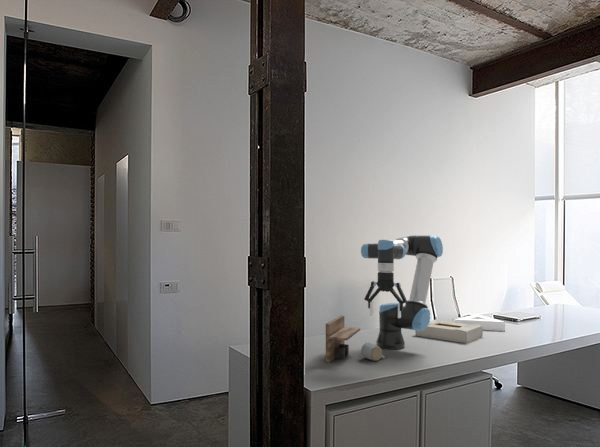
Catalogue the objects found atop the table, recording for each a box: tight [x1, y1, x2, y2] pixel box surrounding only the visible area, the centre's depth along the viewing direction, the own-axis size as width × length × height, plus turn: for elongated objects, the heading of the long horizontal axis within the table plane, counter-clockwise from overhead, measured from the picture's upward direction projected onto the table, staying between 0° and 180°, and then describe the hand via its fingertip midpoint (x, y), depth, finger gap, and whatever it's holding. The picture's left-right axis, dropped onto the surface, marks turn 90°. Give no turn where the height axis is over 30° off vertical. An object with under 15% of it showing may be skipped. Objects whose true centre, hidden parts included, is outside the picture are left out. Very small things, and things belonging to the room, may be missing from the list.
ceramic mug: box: [360, 341, 386, 362], centre depth 233 cm, size 11×8×8 cm
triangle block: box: [454, 313, 506, 332], centre depth 317 cm, size 30×26×6 cm
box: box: [414, 319, 484, 344], centre depth 286 cm, size 23×8×32 cm
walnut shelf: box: [325, 314, 361, 363], centre depth 238 cm, size 10×26×18 cm, turn 159°
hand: (385, 316), depth 228 cm, fingers open, 13 cm apart
